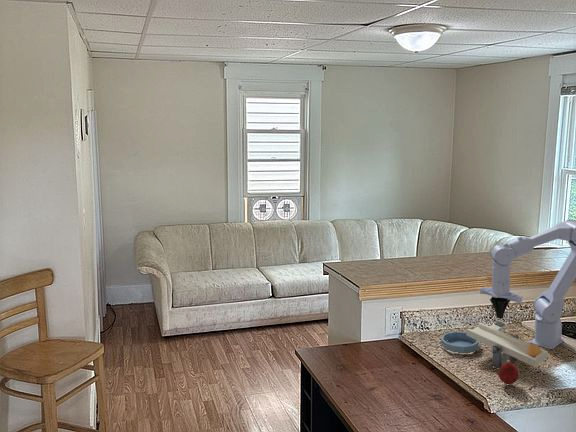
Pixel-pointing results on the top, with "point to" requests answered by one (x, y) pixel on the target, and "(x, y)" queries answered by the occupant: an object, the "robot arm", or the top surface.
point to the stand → (497, 357)
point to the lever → (505, 342)
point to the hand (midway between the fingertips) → (500, 317)
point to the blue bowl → (459, 342)
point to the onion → (508, 373)
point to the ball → (533, 350)
